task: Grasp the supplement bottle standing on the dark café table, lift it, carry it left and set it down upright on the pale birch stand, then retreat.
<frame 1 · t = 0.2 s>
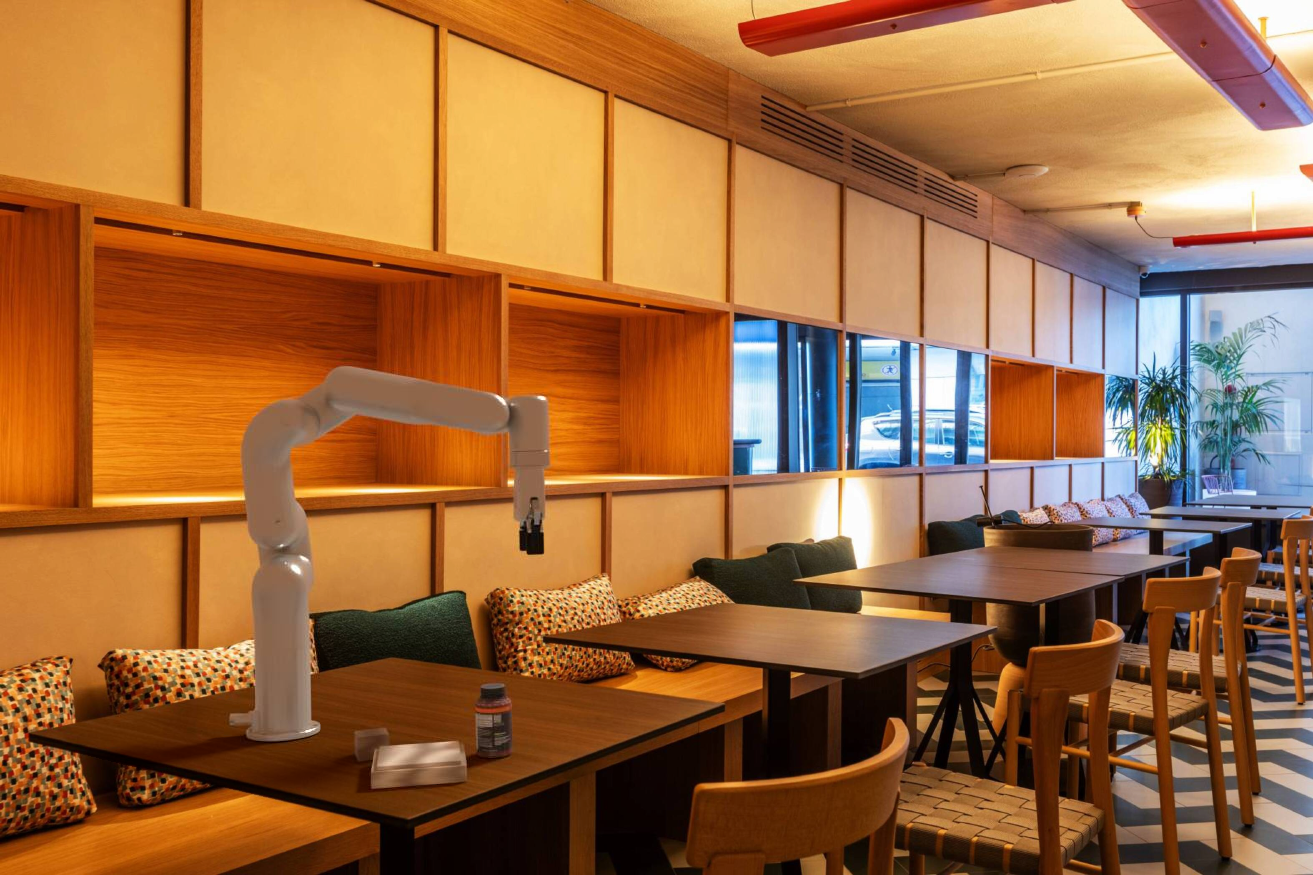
hand: (531, 552, 213), 31 cm above the table, fingers open, 9 cm apart
stand: (419, 772, 177), on the table
supplement bottle: (494, 755, 187), on the table
beige block: (372, 756, 188), on the table
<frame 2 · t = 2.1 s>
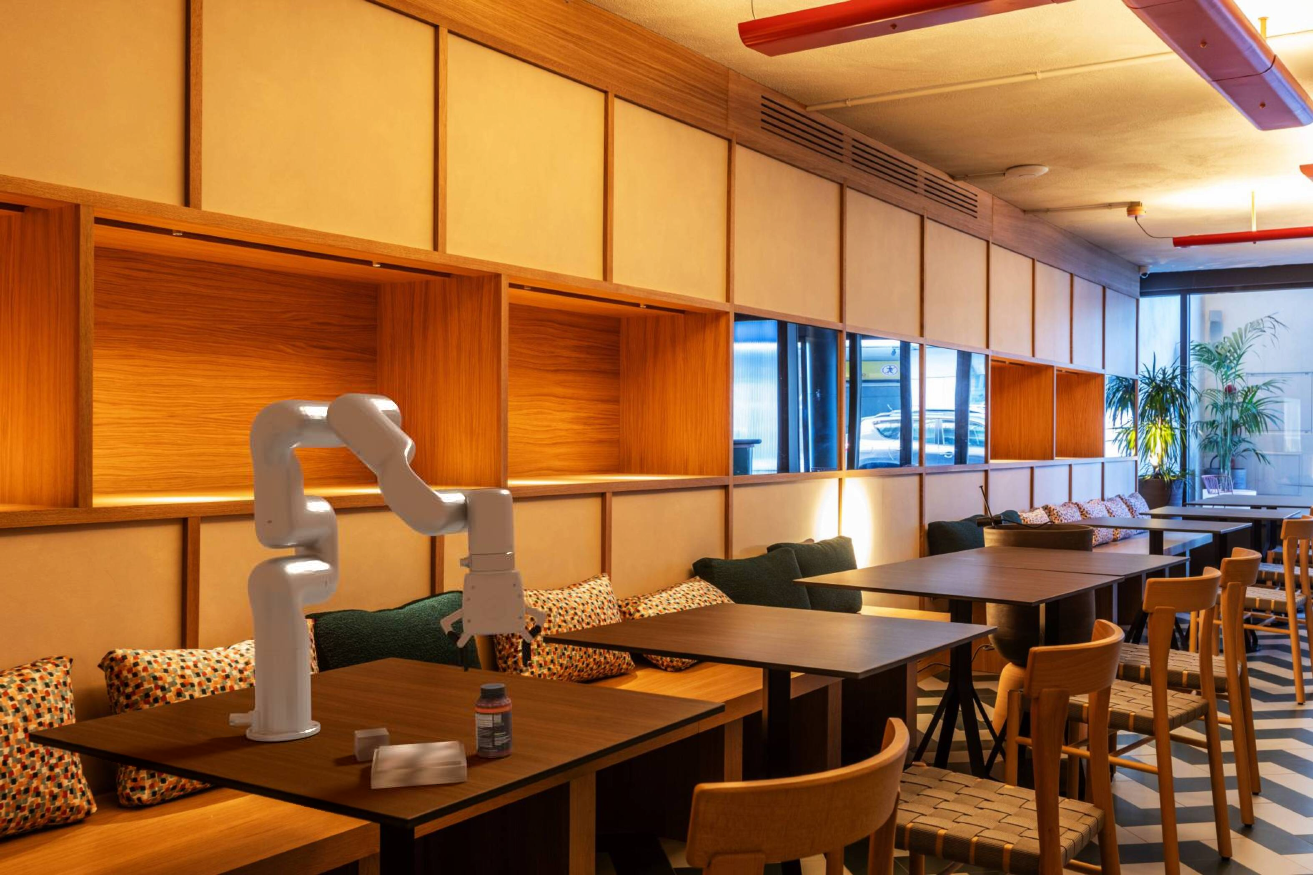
hand: (495, 668, 187), 14 cm above the table, fingers open, 9 cm apart
nothing on the table moved.
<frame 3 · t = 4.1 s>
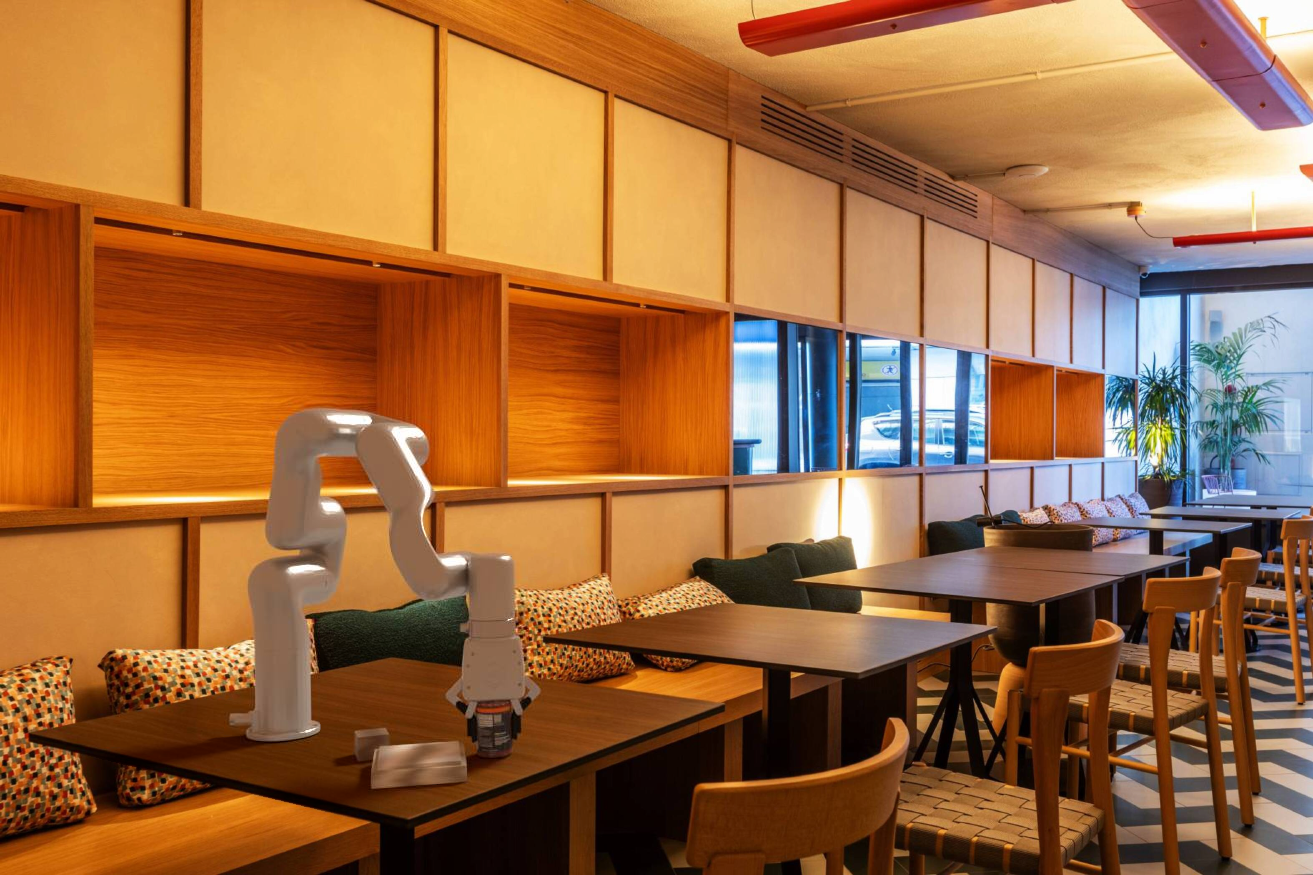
hand: (494, 738, 187), 3 cm above the table, fingers closed on supplement bottle, 6 cm apart
supplement bottle: (494, 755, 187), on the table, touching gripper
everything else where it was.
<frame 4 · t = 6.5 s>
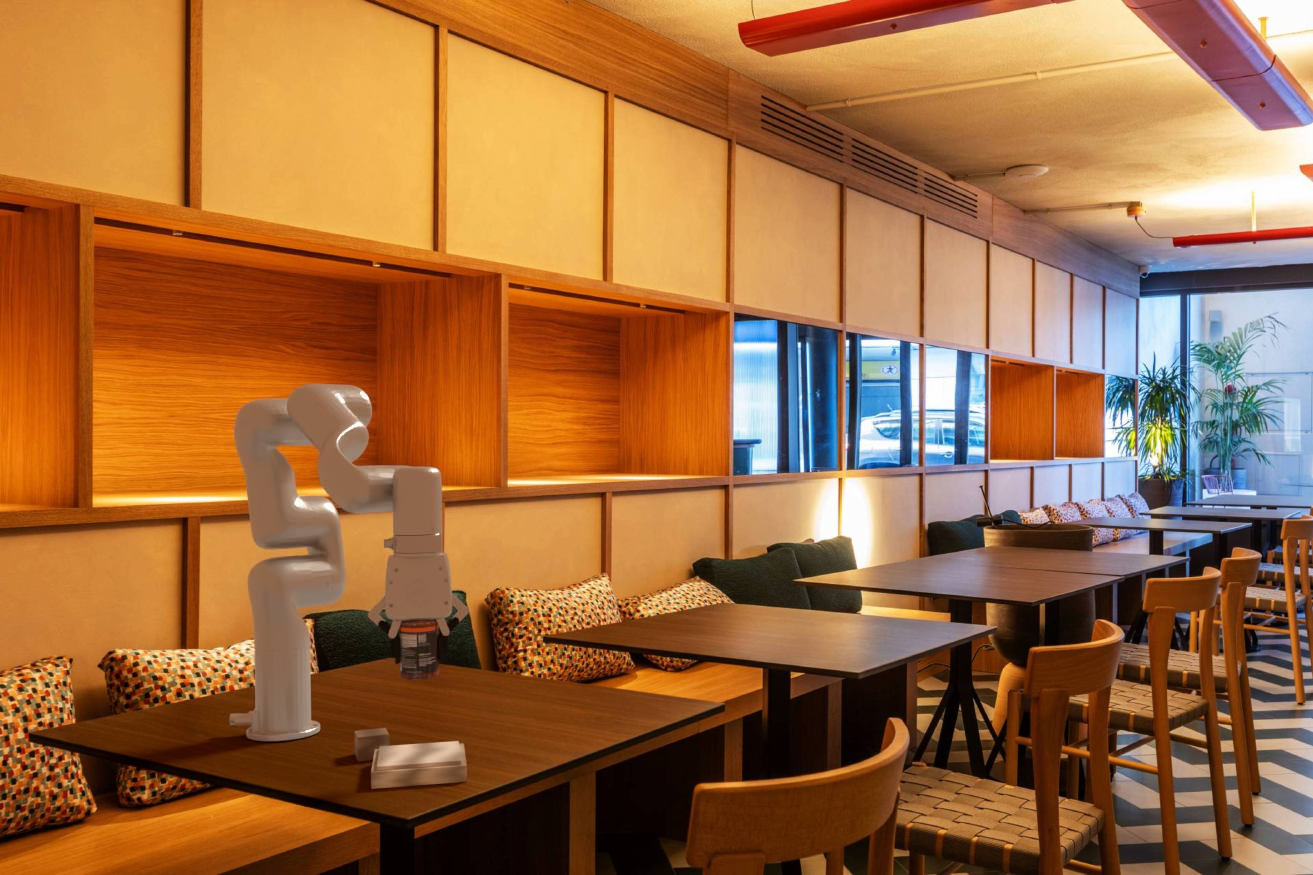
hand: (419, 660, 178), 17 cm above the table, fingers closed on supplement bottle, 6 cm apart
supplement bottle: (419, 678, 178), point 14 cm above the table, touching gripper
everything else where it was.
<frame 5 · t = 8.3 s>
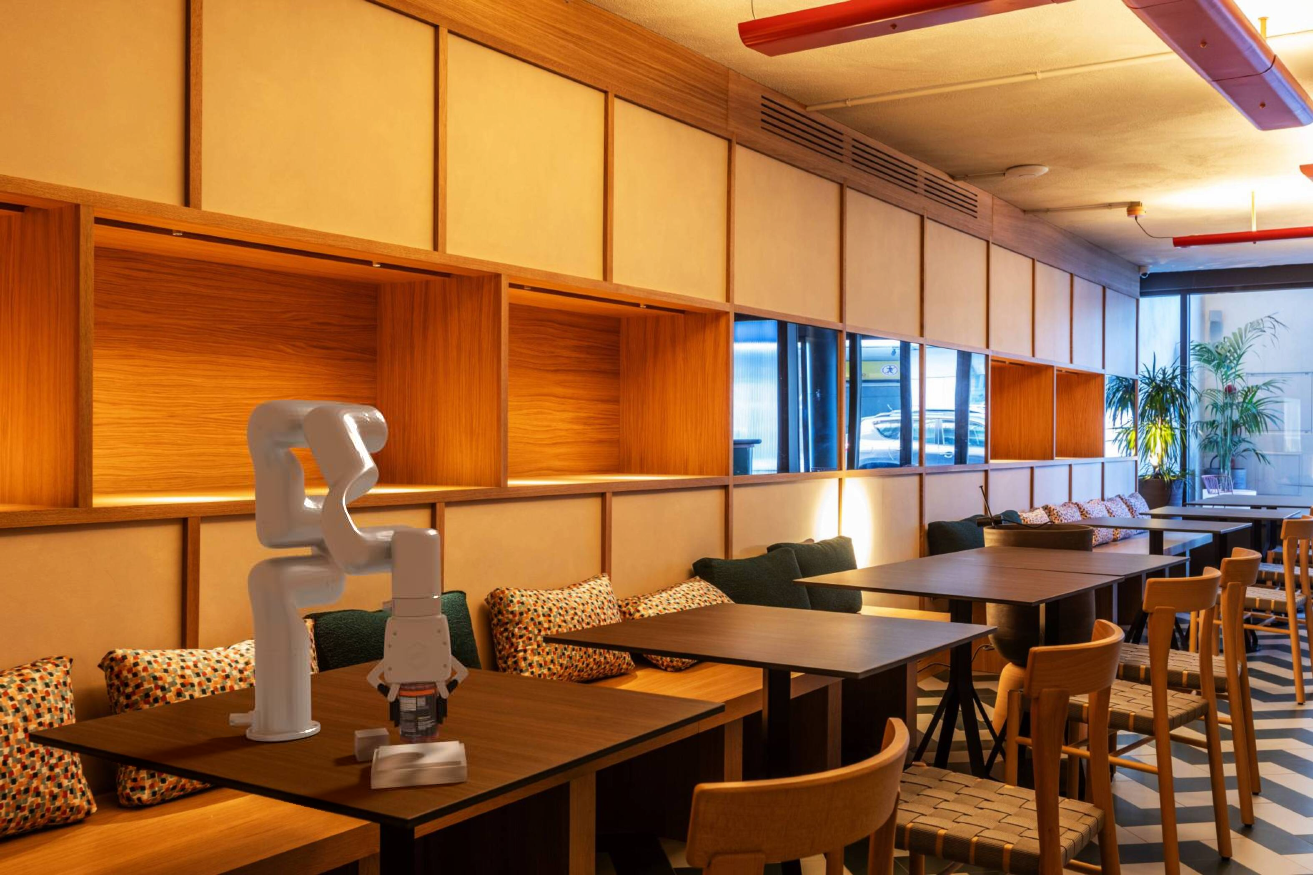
hand: (418, 722, 177), 8 cm above the table, fingers closed on supplement bottle, 6 cm apart
supplement bottle: (419, 741, 177), point 5 cm above the table, touching gripper
everything else where it was.
when the fingers open (7 cm above the table, at t = 9.4 s): supplement bottle drops 1 cm, resting on stand.
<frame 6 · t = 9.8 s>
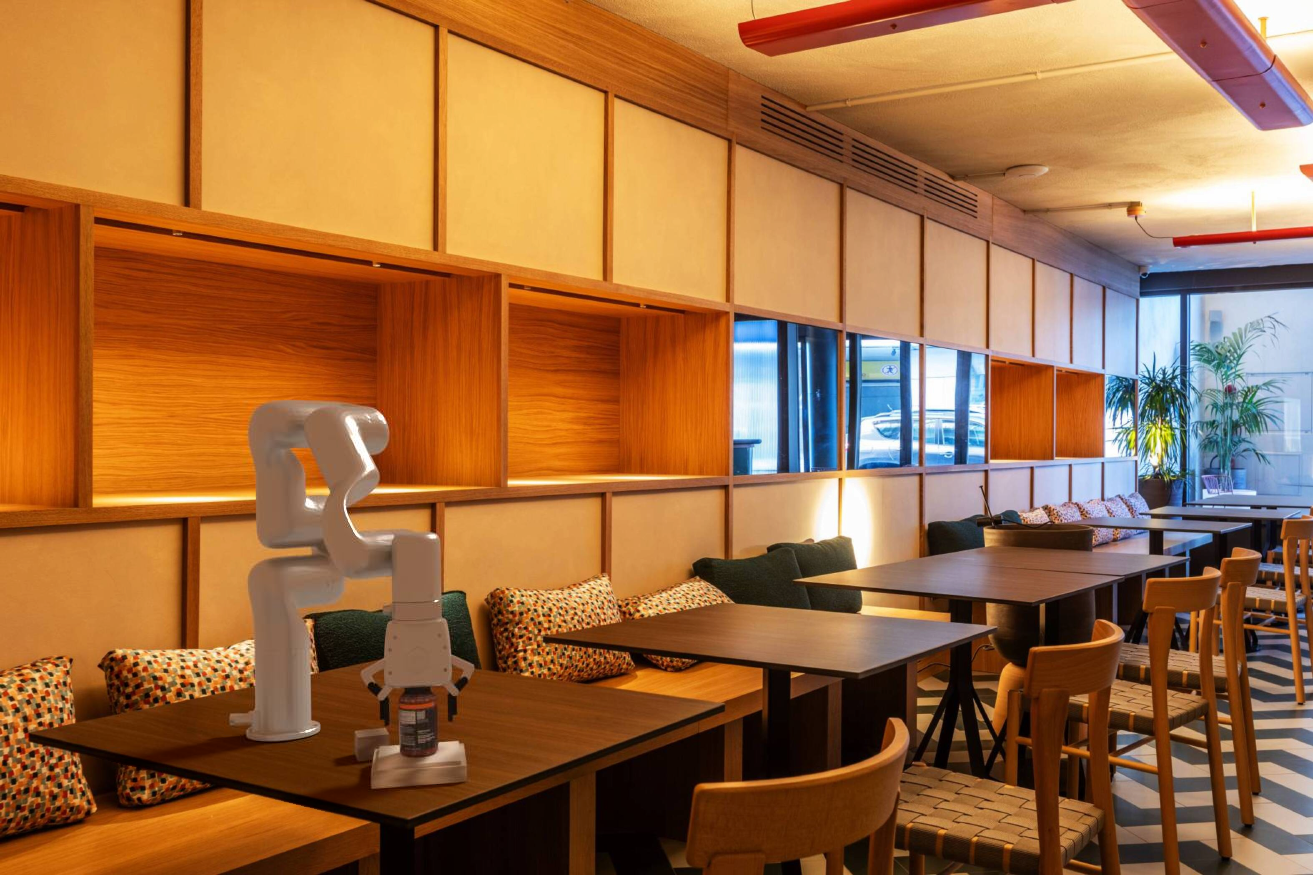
hand: (418, 722, 177), 8 cm above the table, fingers open, 9 cm apart
supplement bottle: (418, 754, 177), point 3 cm above the table, touching stand
everything else where it was.
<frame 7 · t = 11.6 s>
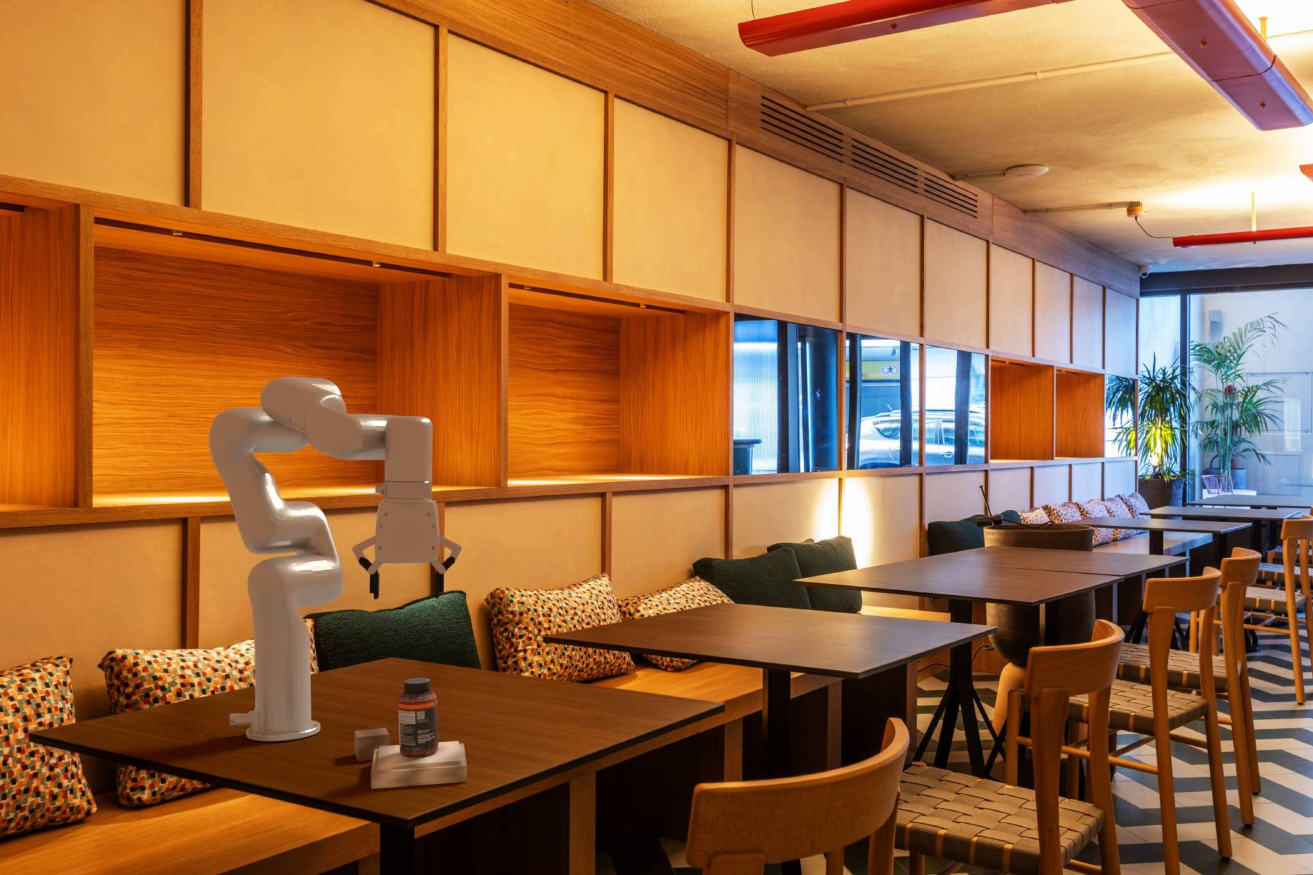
hand: (406, 597, 185), 26 cm above the table, fingers open, 9 cm apart
nothing on the table moved.
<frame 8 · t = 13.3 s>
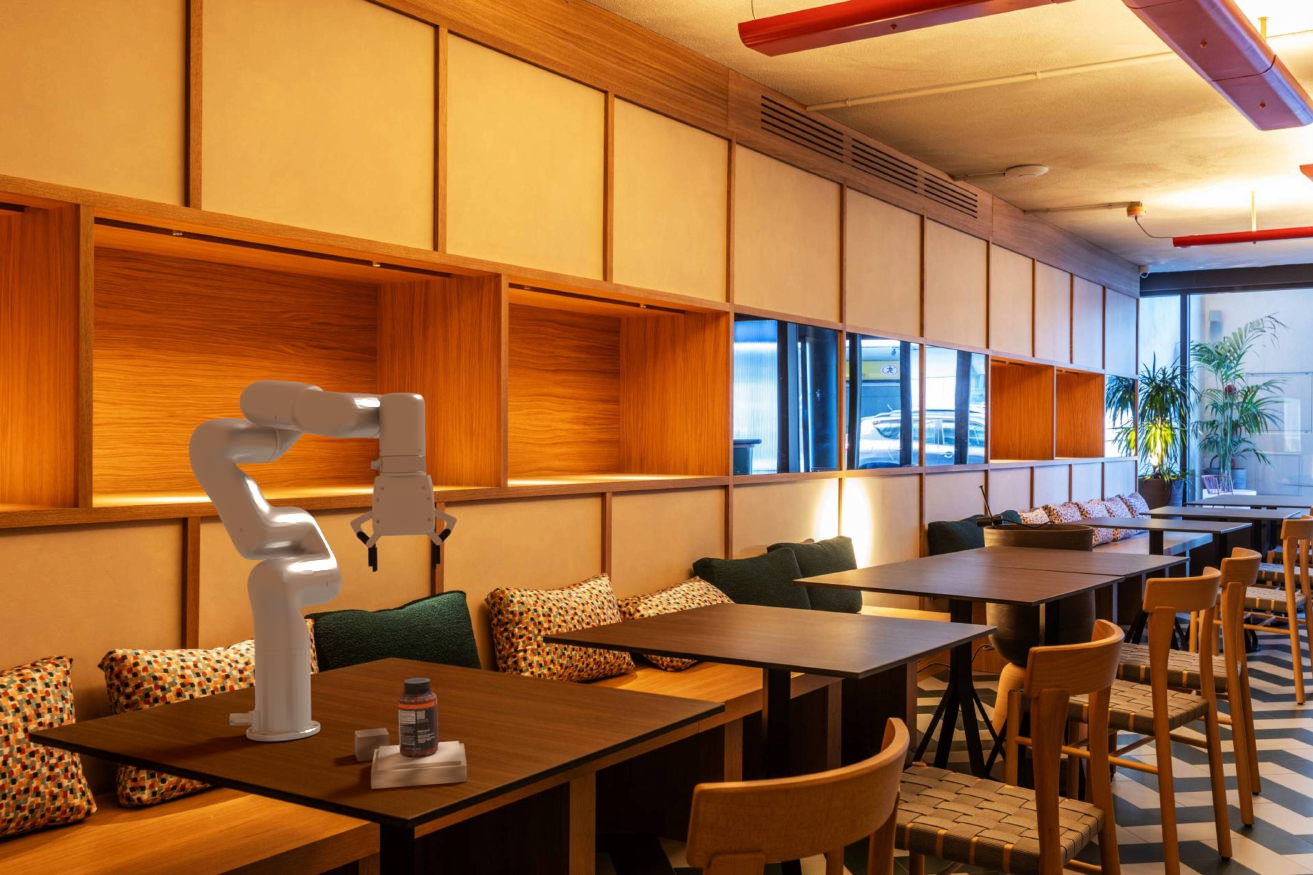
hand: (404, 569, 190), 30 cm above the table, fingers open, 9 cm apart
nothing on the table moved.
at the end: supplement bottle inside the target area on the stand (0.1 cm from its centre), point 2.8 cm above the stand's base; supplement bottle tilted 0°; the gripper is holding nothing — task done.
